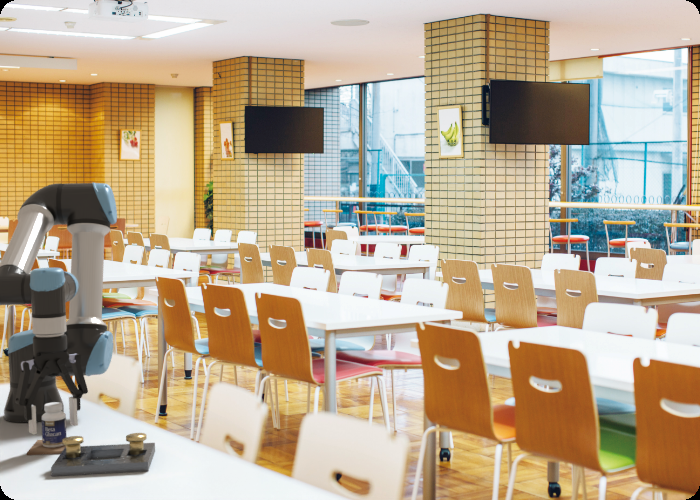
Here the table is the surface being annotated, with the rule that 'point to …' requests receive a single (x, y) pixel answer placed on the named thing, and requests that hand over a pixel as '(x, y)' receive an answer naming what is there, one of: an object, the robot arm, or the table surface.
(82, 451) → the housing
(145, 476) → the table surface
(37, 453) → the coaster
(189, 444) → the table surface
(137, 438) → the plunger
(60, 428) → the pill bottle
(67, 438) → the plunger
